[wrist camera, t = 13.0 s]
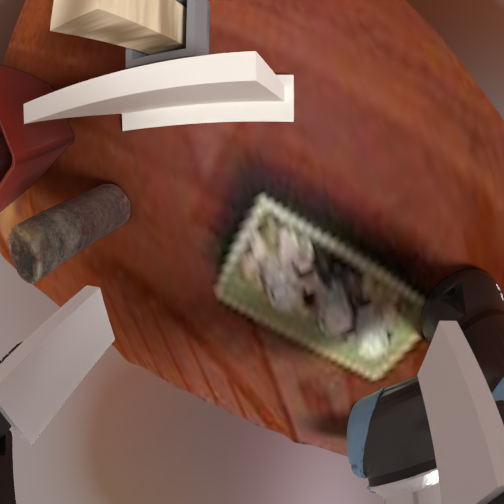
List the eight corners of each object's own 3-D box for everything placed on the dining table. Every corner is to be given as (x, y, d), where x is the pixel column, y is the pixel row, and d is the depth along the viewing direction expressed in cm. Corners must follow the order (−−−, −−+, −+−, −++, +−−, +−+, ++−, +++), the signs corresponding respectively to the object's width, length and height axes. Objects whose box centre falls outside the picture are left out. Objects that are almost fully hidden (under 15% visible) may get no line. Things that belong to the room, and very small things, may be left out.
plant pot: (96, 143, 41) (15, 163, 26) (41, 200, 48) (-25, 232, 33) (57, 59, 36) (-18, 58, 21) (8, 125, 43) (-56, 140, 28)
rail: (193, 13, 24) (105, -44, 10) (193, 49, 26) (97, 8, 12) (156, 21, 25) (57, -19, 11) (155, 56, 27) (49, 31, 13)
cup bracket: (292, 18, 30) (268, -64, 12) (293, 121, 35) (272, 118, 17) (125, 41, 34) (23, 19, 16) (126, 130, 40) (20, 150, 22)
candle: (102, 229, 47) (18, 285, 29) (90, 188, 45) (-3, 231, 27) (137, 222, 45) (49, 283, 28) (124, 177, 43) (25, 219, 25)
